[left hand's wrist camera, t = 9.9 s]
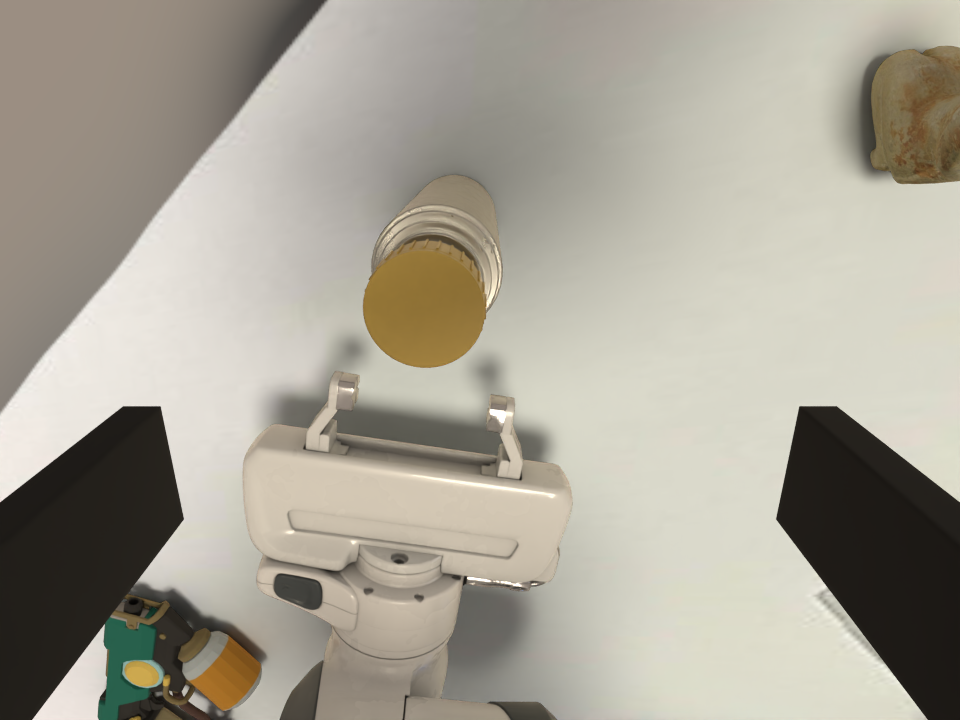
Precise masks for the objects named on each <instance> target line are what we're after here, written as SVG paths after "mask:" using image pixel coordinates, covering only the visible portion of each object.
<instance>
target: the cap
mask: <svg viewBox="0 0 960 720" xmlns="http://www.w3.org/2000/svg"><path fill="white" fill-rule="evenodd" d="M441 242H442V241H440V240H439V242H436V241H429V239H426V241H417V242H416V240H414V241H413V242H412V243H409V244H406V245H404V244H402V245H401V246H400V248H398V249H396V250H395V251H393V250H392V251H391V252H390V253H389V254H388V256H387V257H386V258H385V259H382V261H381V262H380V263H379V265H378V266H377V267H376V270H375V271H374V273H373V274H372V275H371V277H370V278H369V280H370V281H369V283H368V285H367V288H366V289H365V295H364V300H363V314H364V319H365V323H366V326H367V329H368V331H369V333H370V335H371V337H372V339H373V340H374V342H375V343H376V344H377V345H378V346H379V348H380V349H381V350H383V351H384V352H385V353H386V354H387V355H389V356H390V357H391V358H393V359H395V360H397V361H399V362H401V363H404V364H406V365H410V366H414V367H421V368H431V367H438V366H442V365H446V364H448V363H451V362H453V361H455V360H457V359H459V358H460V357H461V356H463V355H464V354H465V353H466V352H467V351H468V350H470V348H471V347H472V346H473V345H474V344H475V342H476V340H477V339H478V337H479V335H480V333H481V331H482V327H483V324H484V319H486V307H487V294H485V282H482V278H481V272H480V270H479V271H478V270H477V268H476V267H475V265H474V261H473V260H472V261H471V260H470V259H469V258H468V257H467V256H466V255H465V252H464V251H463V252H461V251H459V250H458V249H456V248H454V245H451V246H450V245H447V244H445V243H441Z"/></svg>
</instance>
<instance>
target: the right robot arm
mask: <svg viewBox="0 0 960 720" xmlns="http://www.w3.org/2000/svg"><path fill="white" fill-rule="evenodd" d="M359 382H360V375H356V374H350V373H345V372H338V371H335V372H334V374H333V376H332V378H331V381H330V385H329V395H328V401H327V403H326V404H325V405H324V406H323V408H322V409H321V410H320V411H319V413H318V414H317V415H316V417H315V418H314V420H313V422H312V423H311V425H310V427H309V429H308V428H301V427H294V426H287V425H281V424H273V425H271V426H269V427H268V428H267V429H266V430H264V431H263V432H262V433H261V434H260V435H259V436H258V437H257V438H256V439H255V440H254V442H253V443H252V445H251V446H250V448H249V449H248V451H247V453H246V455H245V458H244V462H243V497H244V508H245V516H246V523H247V528H248V532H249V535H250V538H251V540H252V542H253V544H254V545H255V547H256V548H257V549H258V550H259V551H260V552H261V553H263V557H262V559H261V563H260V566H259V569H258V573H257V586H258V588H259V590H260V591H262V592H263V593H264V594H266V595H268V596H271V597H273V598H276V599H278V600H281V601H284V602H286V603H288V604H291V605H293V606H296V607H298V608H300V609H303V610H305V611H307V612H309V613H311V614H313V615H315V616H317V617H319V618H321V619H323V620H324V621H326V622H328V623H330V624H331V627H332V634H331V636H330V638H329V640H328V643H327V646H326V651H325V657H324V661H323V660H322V661H321V662H319V663H318V664H317V665H316V666H315V667H313V668H312V669H311V670H310V671H309V672H308V674H307V675H306V676H305V677H304V678H303V679H302V680H301V681H300V683H299V684H298V685H297V686H296V687H295V688H294V690H293V691H292V692H291V694H290V696H289V698H288V700H287V702H286V704H285V707H284V709H283V712H282V714H281V717H280V720H557V719H556V718H555V717H554V716H553V715H552V714H551V713H550V712H549V711H548V710H547V709H546V708H545V707H544V706H543V705H542V704H540V703H539V702H489V703H478V702H468V701H458V700H448V699H441V695H442V691H443V686H444V682H445V677H446V672H447V666H448V650H447V642H448V641H449V639H450V637H451V635H452V633H453V630H454V627H455V624H456V619H457V614H458V609H459V603H460V598H461V593H462V587H463V585H464V584H468V585H475V586H483V587H502V588H503V587H504V588H510V590H513V591H529V590H530V587H534V586H539V585H542V584H544V583H546V582H549V581H551V580H552V578H553V577H554V574H555V572H556V568H557V564H558V560H559V556H560V550H559V543H560V541H561V539H562V536H563V534H564V531H565V528H566V526H567V523H568V520H569V517H570V514H571V510H572V505H573V500H572V492H571V487H570V484H569V481H568V479H567V477H566V475H565V474H564V472H563V471H562V469H561V468H560V467H559V466H558V465H556V464H551V463H544V462H537V461H530V460H523V459H522V450H521V445H520V442H519V440H518V437H517V435H516V433H515V430H514V428H513V425H512V422H513V417H514V412H515V401H514V398H512V397H506V396H499V395H492V394H491V395H490V399H489V408H488V410H487V416H486V422H487V424H486V431H491V432H497V433H499V434H500V436H501V439H502V441H503V444H500V445H499V449H498V454H497V456H496V455H489V454H482V453H475V452H468V451H461V450H454V449H447V448H440V447H433V446H426V445H419V444H412V443H405V442H398V441H391V440H385V439H378V438H371V437H364V436H357V435H350V434H343V433H337V420H335V419H332V417H333V416H334V415H335V413H336V412H337V411H338V409H339V410H348V411H352V410H353V408H354V404H355V403H356V402H357V399H358V392H359V389H358V384H359Z"/></svg>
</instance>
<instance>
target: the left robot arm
mask: <svg viewBox="0 0 960 720" xmlns="http://www.w3.org/2000/svg"><path fill="white" fill-rule="evenodd" d="M183 520H184V517H183V513H182V508H181V503H180V498H179V493H178V488H177V484H176V479H175V474H174V469H173V464H172V459H171V455H170V450H169V445H168V440H167V435H166V430H165V426H164V421H163V416H162V411H161V406H123V407H122V408H121V409H119V410H118V411H117V412H115V413H114V414H113V415H112V416H110V417H109V418H108V419H106V420H105V421H104V422H103V423H101V424H100V425H99V426H98V427H96V428H95V429H94V430H92V431H91V432H90V433H89V434H87V435H86V436H85V437H83V438H82V439H81V440H80V441H78V442H77V443H76V444H74V445H73V446H72V447H71V448H69V449H68V450H67V451H65V452H64V453H63V454H62V455H60V456H59V457H58V458H57V459H55V460H54V461H53V462H51V463H50V464H49V465H48V466H46V467H45V468H44V469H42V470H41V471H40V472H39V473H37V474H36V475H35V476H33V477H32V478H31V479H30V480H28V481H27V482H26V483H24V484H23V485H22V486H21V487H19V488H18V489H17V490H15V491H14V492H13V493H12V494H10V495H9V496H8V497H7V498H5V499H4V500H3V501H1V502H0V720H32V719H33V718H34V717H35V715H36V714H37V713H38V711H39V710H40V709H41V707H42V706H43V705H44V703H45V702H46V701H47V699H48V698H49V697H50V695H51V694H52V693H53V691H54V690H55V689H56V688H57V686H58V685H59V684H60V682H61V681H62V680H63V678H64V677H65V676H66V674H67V673H68V672H69V670H70V669H71V668H72V666H73V665H74V664H75V662H76V661H77V660H78V658H79V657H80V656H81V654H82V653H83V652H84V651H85V649H86V648H87V647H88V645H89V644H90V643H91V641H92V640H93V639H94V637H95V636H96V635H97V633H98V632H99V631H100V629H101V628H102V627H103V625H104V624H105V623H106V621H107V620H108V619H109V618H110V616H111V615H112V614H113V612H114V611H115V610H116V608H117V607H118V606H119V604H120V603H121V602H122V600H123V599H124V598H125V596H126V595H127V594H128V592H129V591H130V590H131V588H132V587H133V586H134V584H135V583H136V582H137V581H138V579H139V578H140V577H141V575H142V574H143V573H144V571H145V570H146V569H147V567H148V566H149V565H150V563H151V562H152V561H153V559H154V558H155V557H156V555H157V554H158V553H159V551H160V550H161V549H162V548H163V546H164V545H165V544H166V542H167V541H168V540H169V538H170V537H171V536H172V534H173V533H174V532H175V530H176V529H177V528H178V526H179V525H180V524H181V522H182V521H183ZM776 520H777V521H778V522H779V524H780V525H781V526H782V528H783V529H784V530H785V532H786V533H787V534H788V536H789V537H790V538H791V540H792V541H793V542H794V544H795V545H796V546H797V548H798V549H799V550H800V551H801V553H802V554H803V555H804V557H805V558H806V559H807V561H808V562H809V563H810V565H811V566H812V567H813V569H814V570H815V571H816V573H817V574H818V575H819V577H820V578H821V579H822V581H823V582H824V583H825V584H826V586H827V587H828V588H829V590H830V591H831V592H832V594H833V595H834V596H835V598H836V599H837V600H838V602H839V603H840V604H841V606H842V607H843V608H844V610H845V611H846V612H847V614H848V615H849V616H850V618H851V619H852V620H853V621H854V623H855V624H856V625H857V627H858V628H859V629H860V631H861V632H862V633H863V635H864V636H865V637H866V639H867V640H868V641H869V643H870V644H871V645H872V647H873V648H874V649H875V651H876V652H877V653H878V654H879V656H880V657H881V658H882V660H883V661H884V662H885V664H886V665H887V666H888V668H889V669H890V670H891V672H892V673H893V674H894V676H895V677H896V678H897V680H898V681H899V682H900V684H901V685H902V686H903V688H904V689H905V690H906V691H907V693H908V694H909V695H910V697H911V698H912V699H913V701H914V702H915V703H916V705H917V706H918V707H919V709H920V710H921V711H922V713H923V714H924V715H925V717H926V718H927V719H928V720H960V502H959V501H957V500H956V499H955V498H953V497H952V496H951V495H950V494H948V493H947V492H946V491H945V490H943V489H942V488H941V487H939V486H938V485H937V484H936V483H934V482H933V481H932V480H930V479H929V478H928V477H927V476H925V475H924V474H923V473H921V472H920V471H919V470H918V469H916V468H915V467H914V466H912V465H911V464H910V463H909V462H907V461H906V460H905V459H903V458H902V457H901V456H900V455H898V454H897V453H896V452H895V451H893V450H892V449H891V448H889V447H888V446H887V445H886V444H884V443H883V442H882V441H880V440H879V439H878V438H877V437H875V436H874V435H873V434H871V433H870V432H869V431H868V430H866V429H865V428H864V427H862V426H861V425H860V424H859V423H857V422H856V421H855V420H853V419H852V418H851V417H850V416H848V415H847V414H846V413H845V412H843V411H842V410H841V409H839V408H838V407H837V406H799V411H798V416H797V421H796V426H795V430H794V435H793V440H792V445H791V450H790V455H789V459H788V464H787V469H786V474H785V479H784V484H783V488H782V493H781V498H780V503H779V508H778V513H777V517H776Z"/></svg>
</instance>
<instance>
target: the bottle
mask: <svg viewBox="0 0 960 720" xmlns="http://www.w3.org/2000/svg"><path fill="white" fill-rule="evenodd" d="M426 239H429V241H436V242H439V240H440V241H442V242H441V243H445V244H447V245H450V246H451V245H454V248H456V249H458V250H459V251H461V252H463V251H464V252H465V255H466V256H467V257H468V258H469V259H470V260H471V261H472V260H473V261H474V265H475V267H476V268H477V270H478V271H479V270H480V272H481V278H482V282H485V294H487V307H486V313H487V311H488V310H489V309H490V308H491V306H492V305H493V303H494V302H495V300H496V298H497V295H498V293H499V290H500V287H501V282H502V274H503V267H502V258H501V250H500V243H499V235H498V227H497V220H496V212H495V207H494V204H493V201H492V199H491V197H490V195H489V194H488V192H487V191H486V190H485V189H484V188H483V187H482V186H481V185H480V184H479V183H478V182H476V181H474V180H473V179H470V178H468V177H465V176H460V175H447V176H443V177H440V178H437V179H435V180H433V181H432V182H430V183H429V184H428V185H426V186H425V187H424V188H423V189H422V190H421V192H420V193H419V194H418V195H417V196H416V197H415V198H414V199H413V200H412V201H411V202H410V203H409V204H408V205H407V206H406V207H405V208H404V209H403V210H402V211H401V212H400V213H399V214H398V215H397V216H396V217H395V218H394V219H393V220H392V221H391V222H390V223H389V224H388V225H387V226H386V227H385V229H384V230H383V232H382V233H381V234H380V236H379V238H378V240H377V242H376V245H375V248H374V251H373V256H372V264H371V270H372V274H373V273H374V271H375V270H376V267H377V266H378V265H379V263H380V262H381V261H382V259H385V258H386V257H387V256H388V254H389V253H390V252H391V251H392V250H393V251H395V250H396V249H398V248H400V246H401V245H402V244H404V245H406V244H409V243H412V242H413V241H414V240H416V242H417V241H426Z"/></svg>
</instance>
